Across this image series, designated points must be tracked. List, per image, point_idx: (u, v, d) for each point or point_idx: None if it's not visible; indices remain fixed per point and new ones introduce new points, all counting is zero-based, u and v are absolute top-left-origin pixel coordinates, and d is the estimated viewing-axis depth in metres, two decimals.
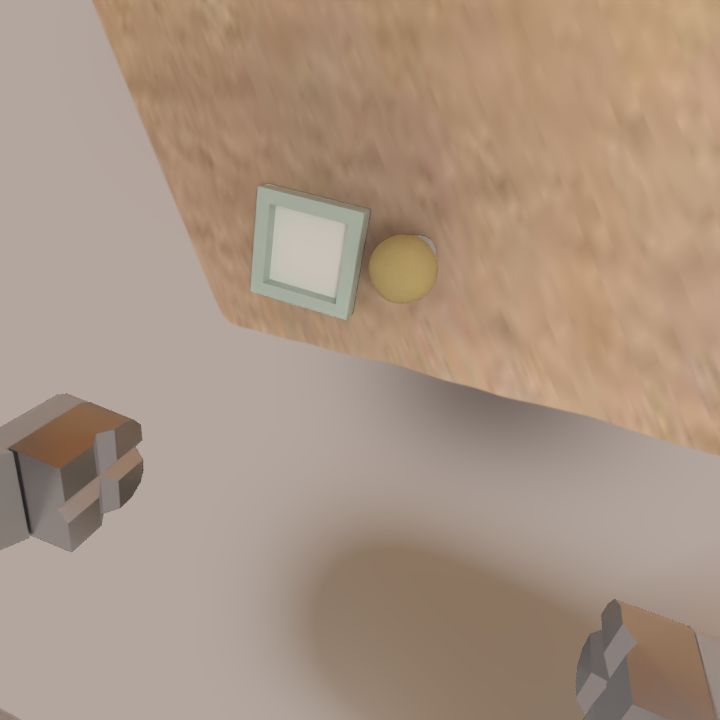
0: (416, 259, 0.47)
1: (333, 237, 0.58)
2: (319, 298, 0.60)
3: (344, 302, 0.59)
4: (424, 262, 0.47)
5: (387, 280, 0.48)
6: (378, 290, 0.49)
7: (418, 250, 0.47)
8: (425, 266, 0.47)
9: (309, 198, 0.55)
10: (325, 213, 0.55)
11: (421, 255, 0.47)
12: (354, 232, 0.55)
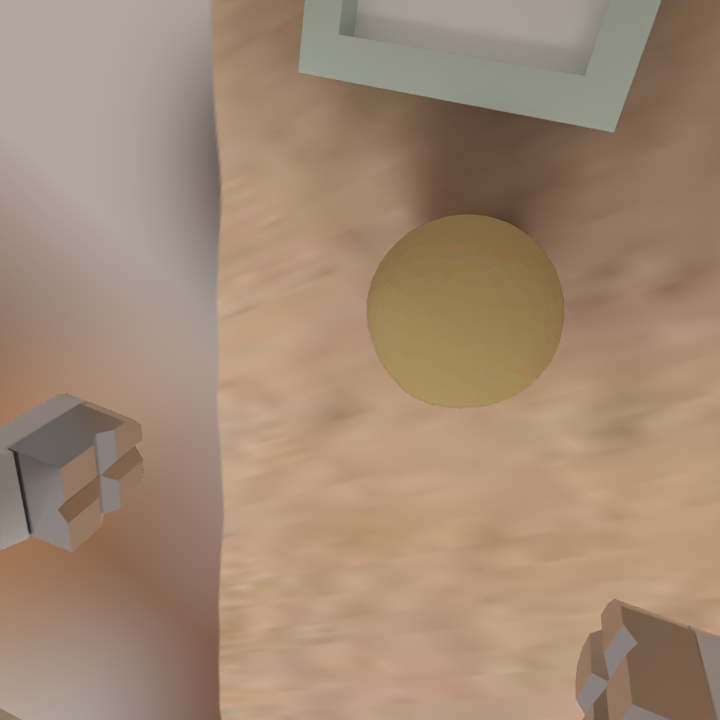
0: (499, 394, 0.16)
1: (538, 6, 0.19)
2: None
3: (347, 65, 0.20)
4: (488, 403, 0.17)
5: (437, 325, 0.15)
6: (401, 277, 0.16)
7: (522, 388, 0.17)
8: (477, 406, 0.17)
9: None
10: None
11: (508, 396, 0.17)
12: (556, 98, 0.19)
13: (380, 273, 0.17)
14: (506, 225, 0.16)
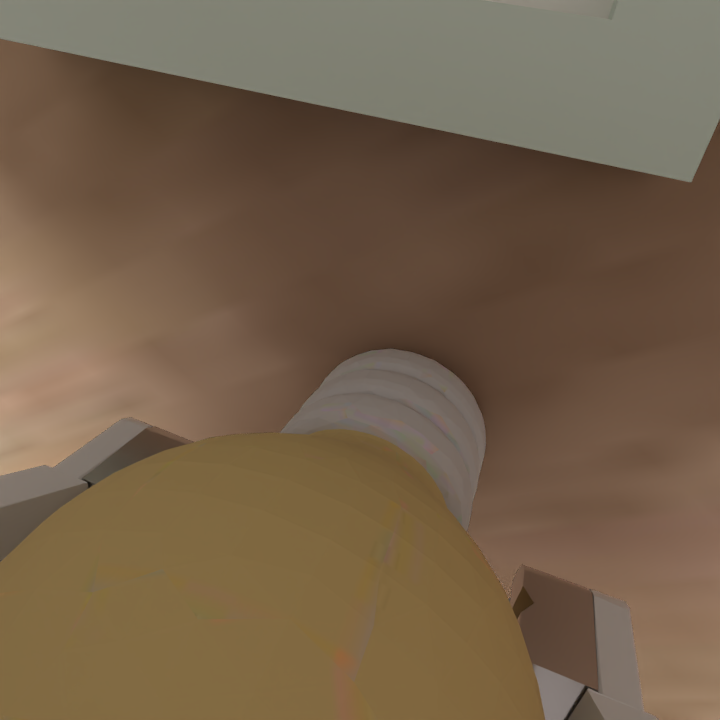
0: None
1: None
2: None
3: (29, 6, 0.08)
4: None
5: None
6: None
7: None
8: None
9: None
10: None
11: None
12: (531, 87, 0.07)
13: None
14: (333, 555, 0.04)
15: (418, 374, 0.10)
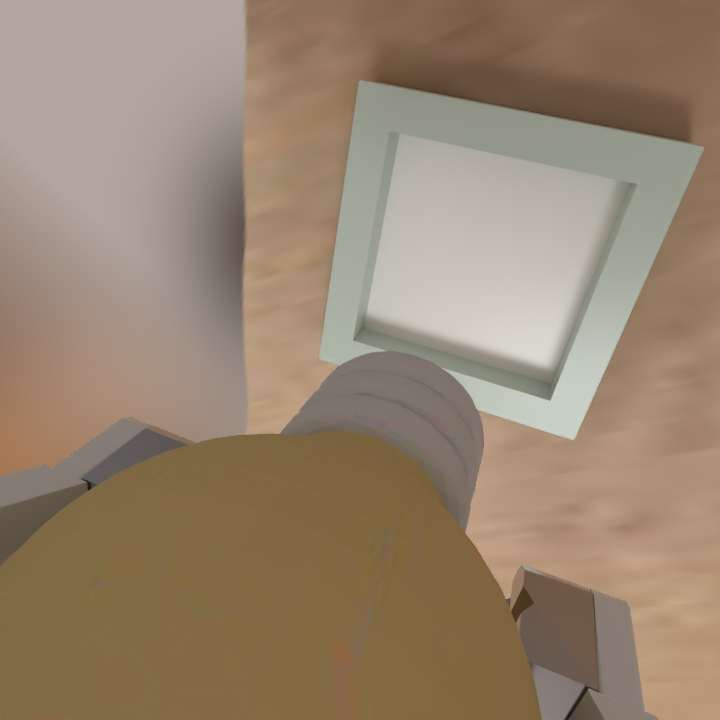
0: None
1: (514, 331, 0.24)
2: (361, 298, 0.24)
3: None
4: None
5: None
6: None
7: None
8: None
9: None
10: (584, 350, 0.21)
11: None
12: (528, 411, 0.23)
13: None
14: (332, 553, 0.04)
15: (416, 376, 0.10)
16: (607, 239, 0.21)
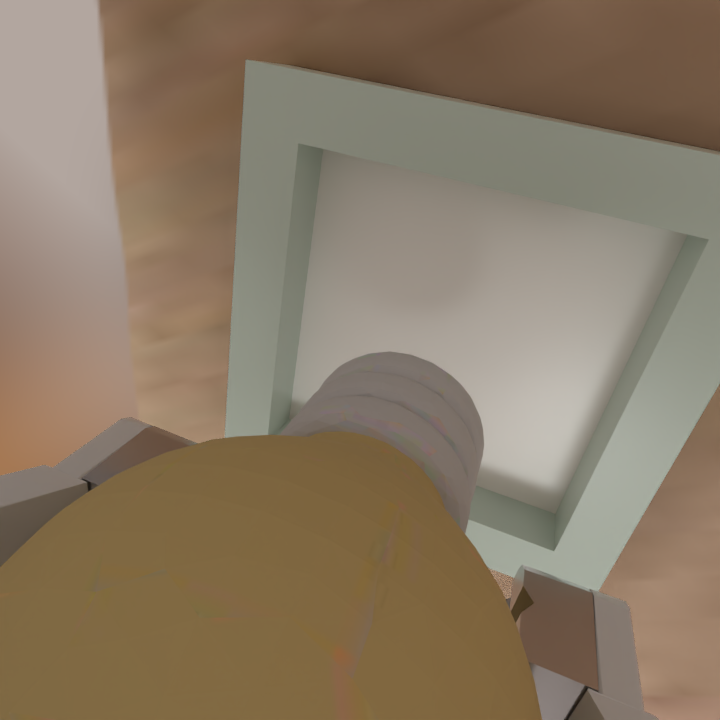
0: None
1: (501, 439, 0.16)
2: (275, 386, 0.16)
3: None
4: None
5: None
6: None
7: None
8: None
9: None
10: (608, 488, 0.14)
11: None
12: (521, 562, 0.15)
13: None
14: (332, 555, 0.04)
15: (416, 377, 0.10)
16: (647, 317, 0.13)
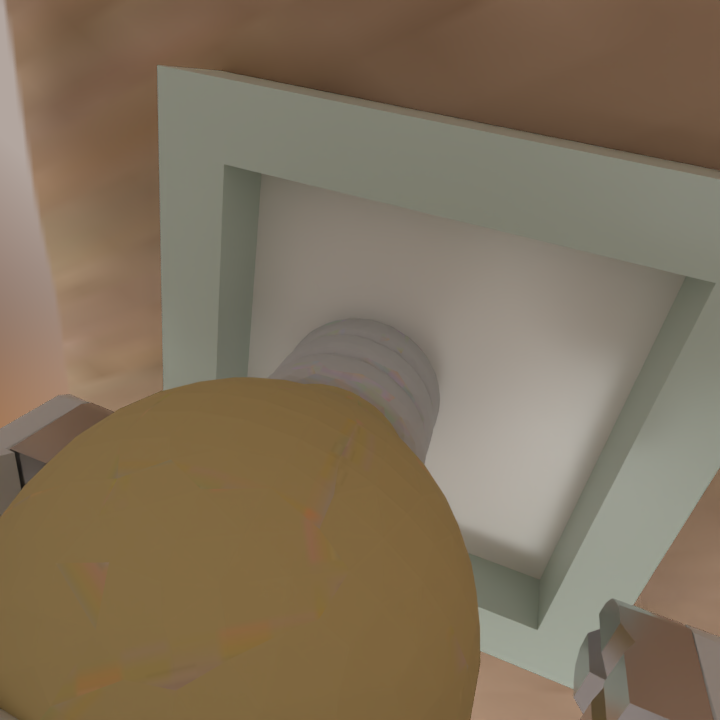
0: None
1: (476, 497, 0.14)
2: None
3: None
4: None
5: None
6: None
7: None
8: None
9: None
10: (598, 564, 0.12)
11: None
12: (500, 639, 0.13)
13: None
14: (302, 449, 0.06)
15: (377, 338, 0.11)
16: (642, 365, 0.11)
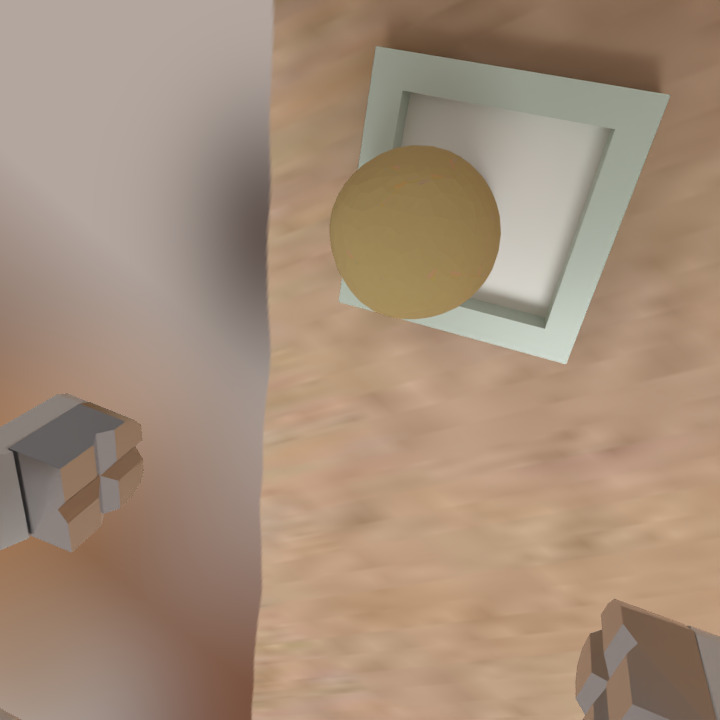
0: (439, 300, 0.19)
1: (512, 271, 0.27)
2: None
3: None
4: (432, 311, 0.20)
5: (381, 232, 0.18)
6: (353, 195, 0.18)
7: (461, 296, 0.19)
8: (423, 314, 0.20)
9: None
10: (573, 280, 0.25)
11: (449, 304, 0.19)
12: (526, 339, 0.26)
13: (338, 195, 0.19)
14: (446, 151, 0.19)
15: None
16: (591, 182, 0.24)
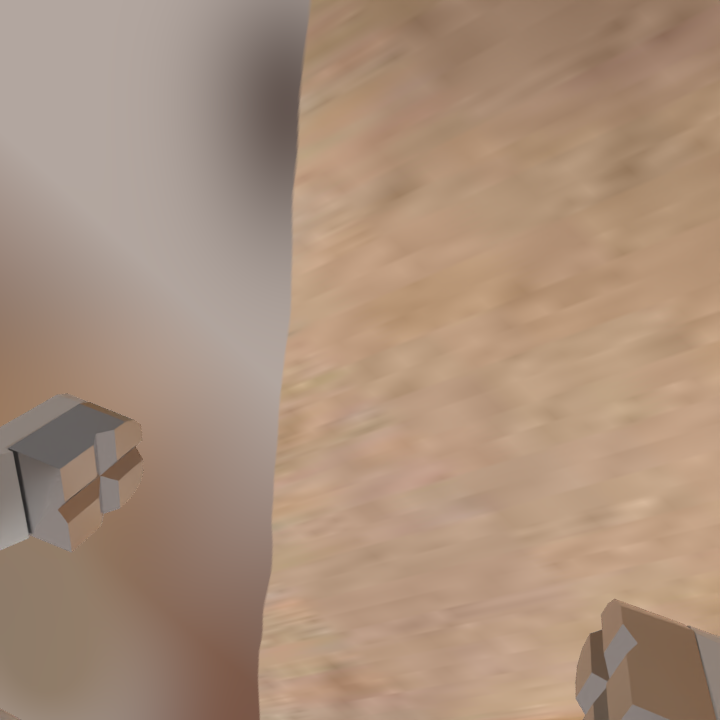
0: None
1: None
2: None
3: None
4: None
5: None
6: None
7: None
8: None
9: None
10: None
11: None
12: None
13: None
14: None
15: None
16: None
